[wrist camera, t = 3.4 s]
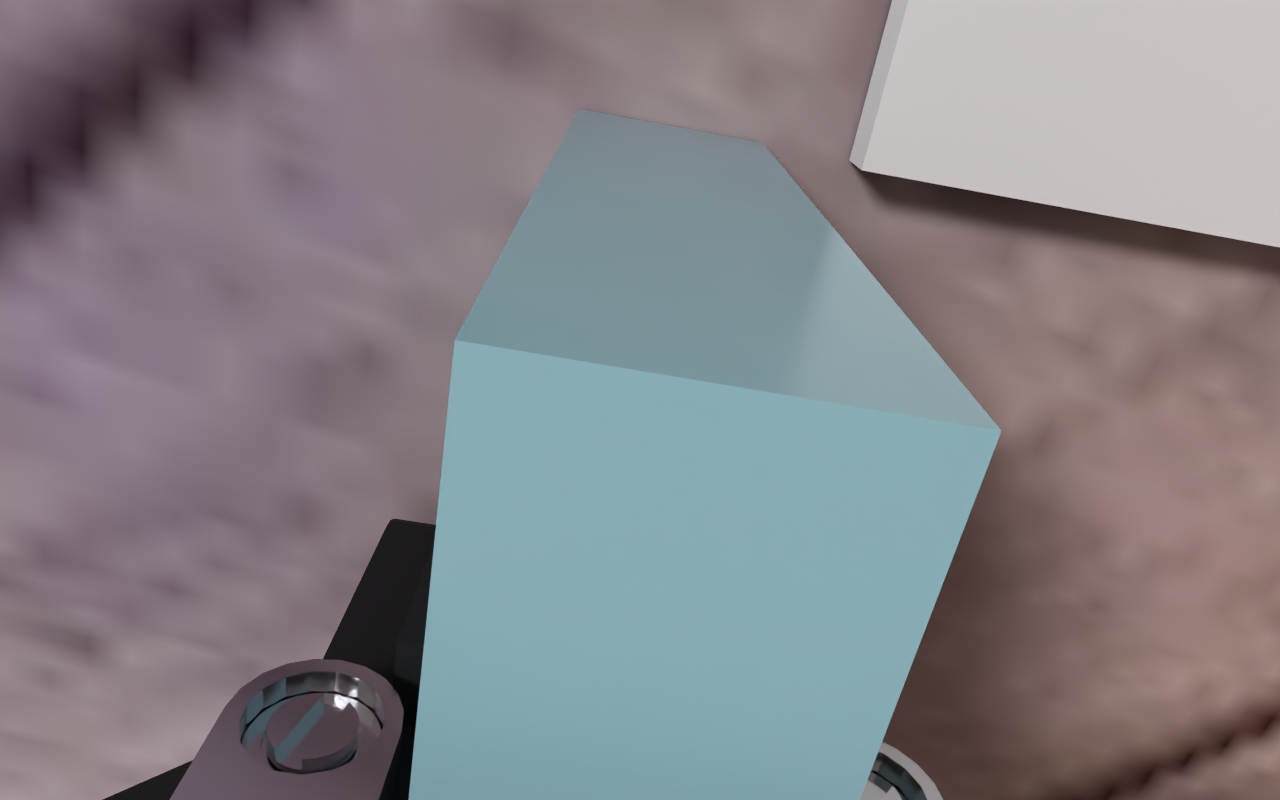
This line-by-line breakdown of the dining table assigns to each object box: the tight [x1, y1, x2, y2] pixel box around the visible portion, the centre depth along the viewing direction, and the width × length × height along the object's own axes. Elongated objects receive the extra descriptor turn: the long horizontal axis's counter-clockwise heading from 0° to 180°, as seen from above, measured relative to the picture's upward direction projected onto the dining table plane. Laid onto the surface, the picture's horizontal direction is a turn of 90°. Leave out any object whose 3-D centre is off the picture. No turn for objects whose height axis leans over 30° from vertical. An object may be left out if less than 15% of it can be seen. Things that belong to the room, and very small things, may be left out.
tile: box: [408, 109, 1001, 800], centre depth 8 cm, size 10×2×7 cm, turn 170°
